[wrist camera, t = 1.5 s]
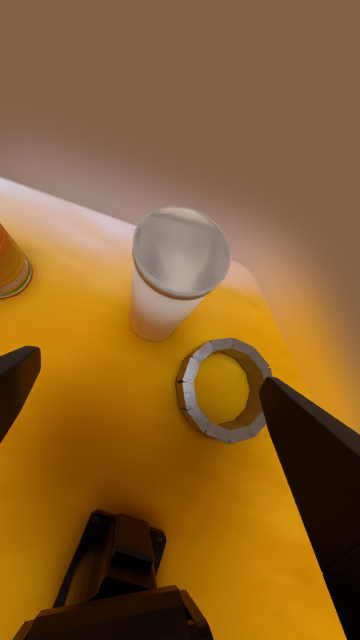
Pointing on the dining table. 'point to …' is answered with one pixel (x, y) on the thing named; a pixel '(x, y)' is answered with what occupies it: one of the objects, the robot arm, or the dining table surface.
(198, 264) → the duct sleeve
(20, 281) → the supplement bottle
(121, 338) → the dining table surface
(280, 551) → the dining table surface
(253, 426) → the collar
